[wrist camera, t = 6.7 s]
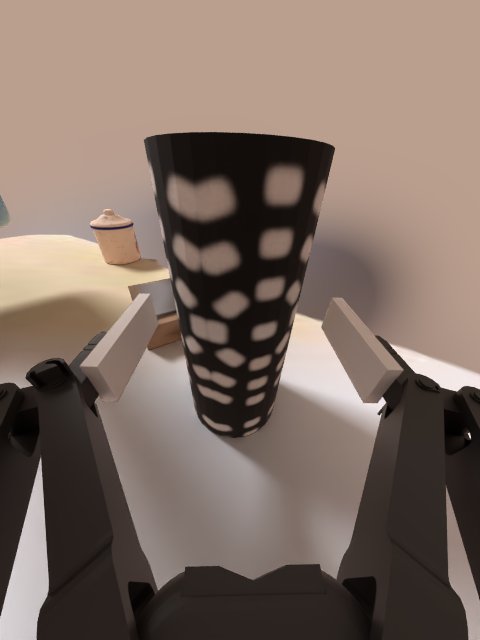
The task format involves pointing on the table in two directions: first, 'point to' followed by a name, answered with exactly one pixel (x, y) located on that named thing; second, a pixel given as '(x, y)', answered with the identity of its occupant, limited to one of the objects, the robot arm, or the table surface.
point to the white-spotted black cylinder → (236, 259)
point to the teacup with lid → (116, 238)
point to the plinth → (161, 311)
